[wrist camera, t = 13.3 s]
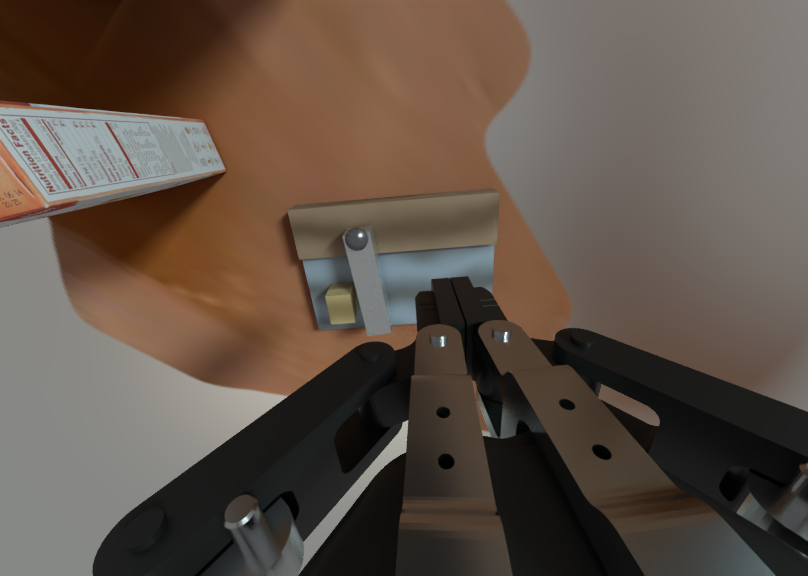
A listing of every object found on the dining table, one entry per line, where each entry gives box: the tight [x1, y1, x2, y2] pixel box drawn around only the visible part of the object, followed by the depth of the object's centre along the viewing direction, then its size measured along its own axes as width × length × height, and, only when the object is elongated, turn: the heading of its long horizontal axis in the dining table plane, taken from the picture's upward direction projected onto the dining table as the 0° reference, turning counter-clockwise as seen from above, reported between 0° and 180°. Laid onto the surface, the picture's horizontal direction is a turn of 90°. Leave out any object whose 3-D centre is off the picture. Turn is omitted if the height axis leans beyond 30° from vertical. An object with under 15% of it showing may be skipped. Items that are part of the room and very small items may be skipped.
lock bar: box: [342, 225, 392, 336], centre depth 36 cm, size 14×3×4 cm, turn 9°
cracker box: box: [0, 101, 227, 227], centre depth 26 cm, size 14×6×21 cm, turn 103°
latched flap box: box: [287, 189, 499, 331], centre depth 38 cm, size 17×24×6 cm
